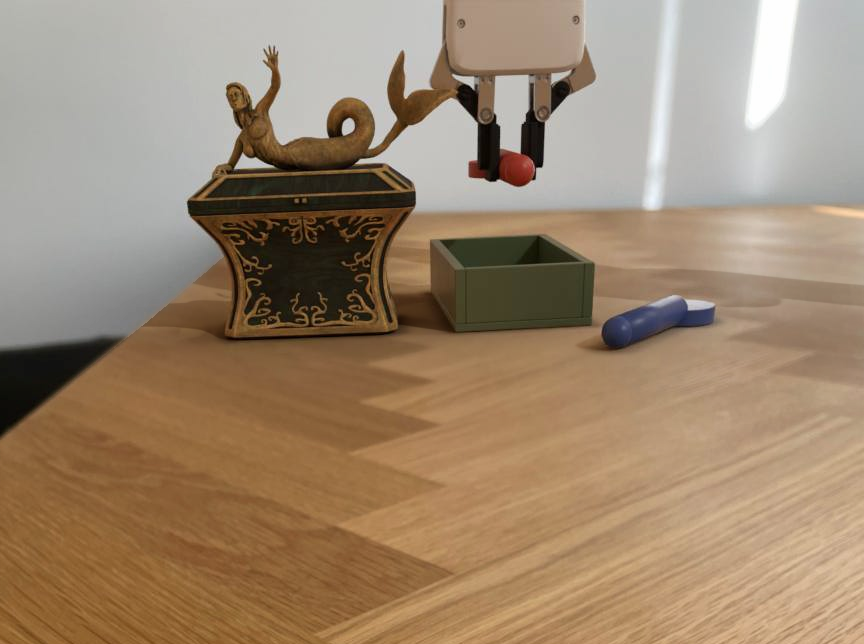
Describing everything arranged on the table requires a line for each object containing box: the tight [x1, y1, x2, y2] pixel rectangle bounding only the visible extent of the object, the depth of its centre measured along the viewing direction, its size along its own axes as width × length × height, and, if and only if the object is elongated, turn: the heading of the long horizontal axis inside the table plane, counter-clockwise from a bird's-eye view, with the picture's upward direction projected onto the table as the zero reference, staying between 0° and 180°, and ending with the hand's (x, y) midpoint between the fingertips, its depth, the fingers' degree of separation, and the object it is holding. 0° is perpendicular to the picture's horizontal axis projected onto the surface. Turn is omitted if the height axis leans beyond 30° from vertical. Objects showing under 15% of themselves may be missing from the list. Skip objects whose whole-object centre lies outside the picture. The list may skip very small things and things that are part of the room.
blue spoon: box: [600, 294, 716, 350], centre depth 77 cm, size 14×5×2 cm, turn 142°
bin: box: [429, 233, 596, 333], centre depth 88 cm, size 11×19×5 cm, turn 4°
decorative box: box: [186, 44, 458, 340], centre depth 79 cm, size 20×10×20 cm, turn 90°
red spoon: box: [467, 148, 535, 188], centre depth 83 cm, size 14×5×2 cm, turn 4°
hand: (509, 177), depth 81 cm, fingers closed on red spoon, 2 cm apart
